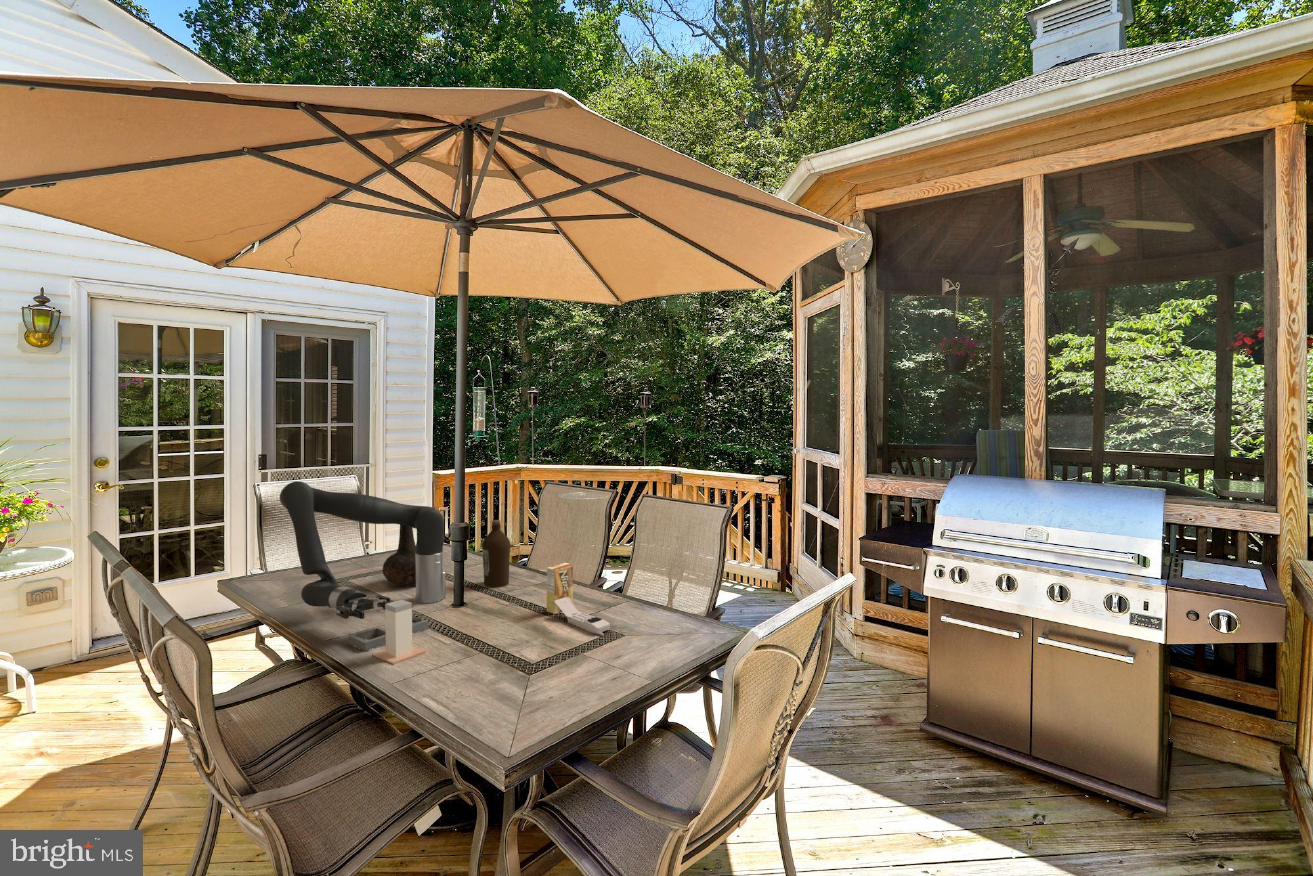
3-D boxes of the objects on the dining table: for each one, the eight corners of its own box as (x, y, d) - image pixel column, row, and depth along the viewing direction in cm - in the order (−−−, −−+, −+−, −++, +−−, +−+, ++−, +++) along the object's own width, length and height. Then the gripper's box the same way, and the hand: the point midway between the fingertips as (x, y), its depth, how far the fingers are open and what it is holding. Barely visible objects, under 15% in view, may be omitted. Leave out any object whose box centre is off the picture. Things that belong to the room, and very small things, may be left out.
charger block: (402, 647, 178) (401, 599, 178) (412, 651, 175) (411, 602, 175) (386, 653, 174) (385, 604, 174) (396, 657, 171) (395, 607, 171)
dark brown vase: (441, 578, 249) (440, 509, 247) (414, 592, 232) (413, 517, 230) (402, 575, 253) (401, 507, 251) (372, 588, 236) (371, 515, 234)
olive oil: (506, 578, 250) (506, 517, 248) (513, 585, 240) (513, 522, 239) (479, 582, 245) (479, 519, 243) (485, 589, 235) (485, 524, 234)
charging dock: (412, 623, 199) (412, 614, 199) (430, 629, 194) (430, 620, 194) (347, 643, 182) (347, 633, 182) (365, 651, 176) (365, 641, 176)
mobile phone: (567, 596, 210) (615, 614, 192) (567, 613, 211) (615, 632, 193) (552, 600, 206) (600, 619, 188) (552, 617, 206) (600, 638, 188)
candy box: (564, 605, 218) (564, 562, 217) (573, 607, 216) (573, 564, 215) (546, 612, 211) (546, 567, 210) (555, 614, 208) (555, 569, 208)
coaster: (405, 644, 182) (405, 642, 182) (425, 652, 176) (425, 650, 176) (372, 655, 174) (372, 653, 174) (393, 664, 168) (393, 662, 168)
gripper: (323, 594, 184) (353, 605, 175) (369, 583, 196) (399, 592, 186) (324, 619, 184) (354, 631, 175) (370, 606, 196) (399, 617, 187)
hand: (377, 611), depth 181 cm, fingers open, 8 cm apart
